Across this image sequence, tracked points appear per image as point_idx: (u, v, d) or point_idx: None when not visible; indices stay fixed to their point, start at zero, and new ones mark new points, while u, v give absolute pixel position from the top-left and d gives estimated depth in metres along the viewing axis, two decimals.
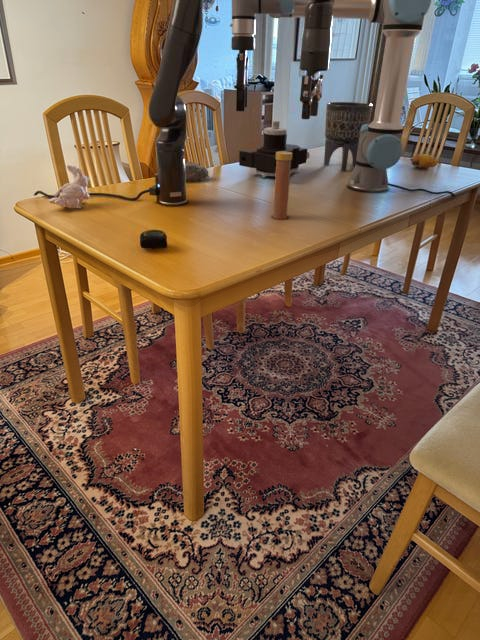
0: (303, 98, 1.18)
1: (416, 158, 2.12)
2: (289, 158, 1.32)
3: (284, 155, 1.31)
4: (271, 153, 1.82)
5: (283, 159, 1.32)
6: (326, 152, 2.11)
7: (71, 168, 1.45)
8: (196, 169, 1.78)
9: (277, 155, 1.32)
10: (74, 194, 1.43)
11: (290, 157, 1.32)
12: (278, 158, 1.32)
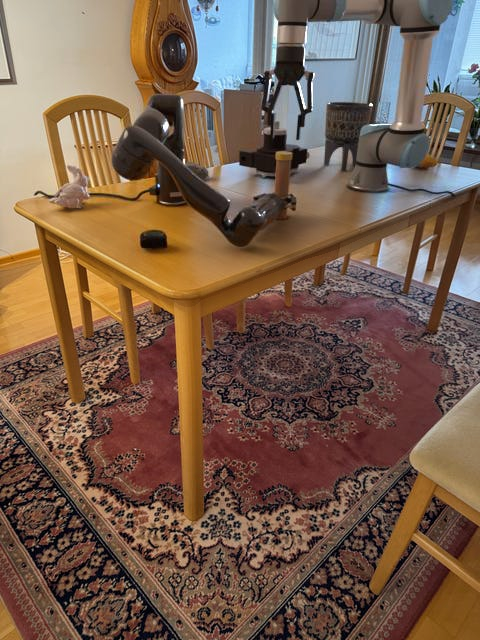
0: None
1: None
2: (289, 158, 1.32)
3: (284, 155, 1.31)
4: (271, 153, 1.82)
5: (283, 159, 1.32)
6: (326, 152, 2.11)
7: (71, 168, 1.45)
8: (196, 169, 1.78)
9: (277, 155, 1.32)
10: (74, 194, 1.43)
11: (290, 157, 1.32)
12: (278, 158, 1.32)
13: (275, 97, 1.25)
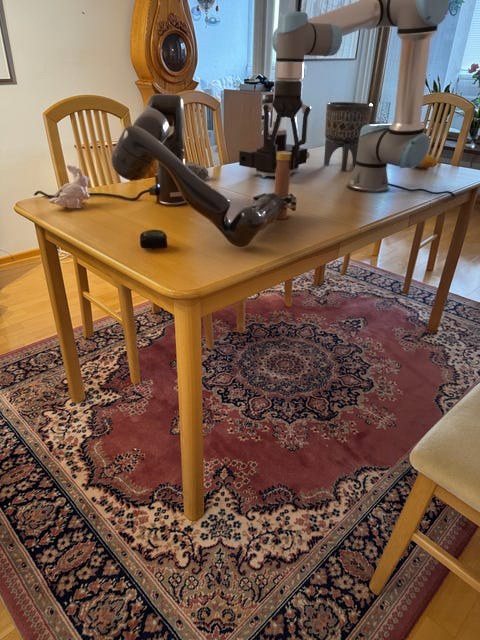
0: None
1: None
2: (289, 158, 1.32)
3: (284, 155, 1.31)
4: None
5: (283, 159, 1.32)
6: (326, 152, 2.11)
7: (71, 168, 1.45)
8: (196, 169, 1.78)
9: (277, 155, 1.32)
10: (74, 194, 1.43)
11: (290, 157, 1.32)
12: (278, 158, 1.32)
13: (276, 129, 1.29)
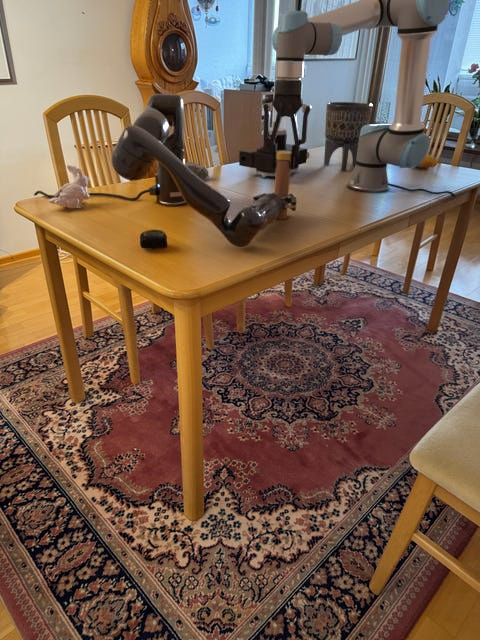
0: None
1: None
2: None
3: None
4: None
5: None
6: (326, 152, 2.11)
7: (71, 168, 1.45)
8: (196, 169, 1.78)
9: (286, 155, 1.31)
10: (74, 194, 1.43)
11: None
12: (288, 158, 1.32)
13: (276, 128, 1.29)
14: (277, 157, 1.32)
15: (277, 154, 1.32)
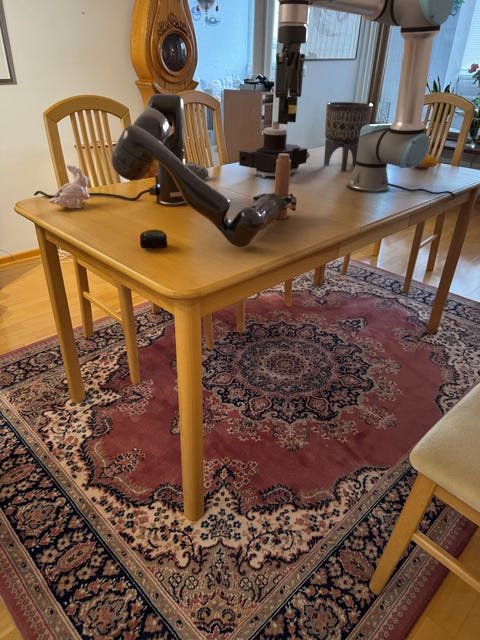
0: None
1: None
2: None
3: None
4: (271, 153, 1.82)
5: None
6: (326, 152, 2.11)
7: (71, 168, 1.45)
8: (196, 169, 1.78)
9: None
10: (74, 194, 1.43)
11: None
12: None
13: (289, 80, 1.21)
14: (290, 111, 1.25)
15: (290, 108, 1.25)
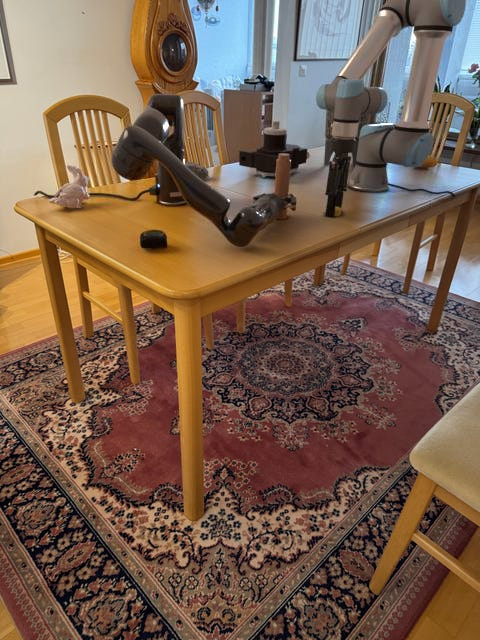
0: None
1: None
2: None
3: None
4: (271, 153, 1.82)
5: None
6: (326, 152, 2.11)
7: (71, 168, 1.45)
8: (196, 169, 1.78)
9: None
10: (74, 194, 1.43)
11: None
12: None
13: (338, 181, 1.39)
14: (337, 214, 1.45)
15: (337, 211, 1.44)
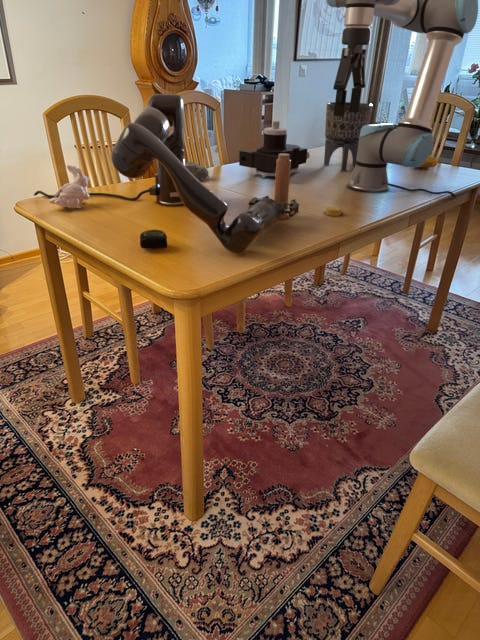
0: None
1: None
2: None
3: None
4: (271, 153, 1.82)
5: None
6: (326, 152, 2.11)
7: (71, 168, 1.45)
8: (196, 169, 1.78)
9: None
10: (74, 194, 1.43)
11: None
12: None
13: (349, 75, 1.23)
14: (337, 214, 1.45)
15: (337, 211, 1.44)
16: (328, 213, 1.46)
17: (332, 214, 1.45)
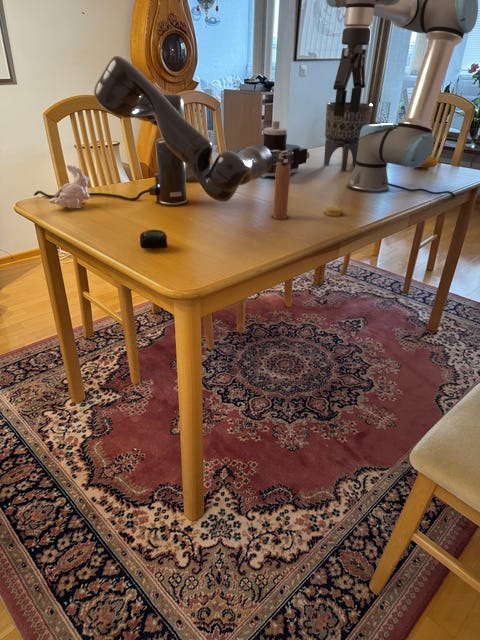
0: (292, 158, 1.17)
1: None
2: None
3: None
4: None
5: None
6: (326, 152, 2.11)
7: (71, 168, 1.45)
8: None
9: None
10: (74, 194, 1.43)
11: None
12: None
13: (349, 75, 1.23)
14: (337, 214, 1.45)
15: (337, 211, 1.44)
16: (328, 213, 1.46)
17: (332, 214, 1.45)
